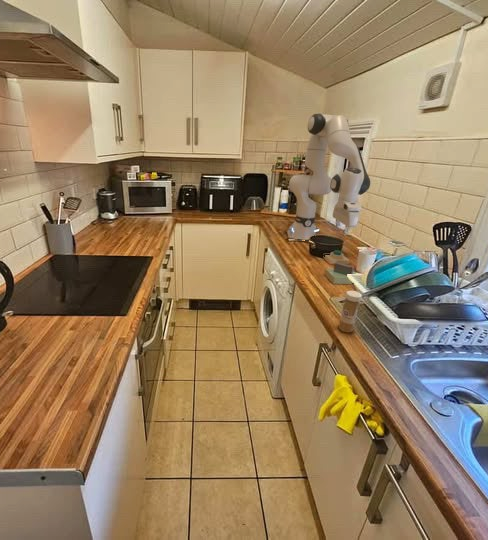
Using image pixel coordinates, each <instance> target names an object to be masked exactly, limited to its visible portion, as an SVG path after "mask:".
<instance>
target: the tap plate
mask: <svg viewBox="0 0 488 540" xmlns="http://www.w3.org/2000/svg"><path fill="white" fill-rule="evenodd" d="M353 274H357V272H355V271H353ZM324 276H325V277H326V278H327V279H328V281H330V282H331V283H332V284H333V285H353V284H352V283H351V282H350V281H349V279H348V277H347V275H345V274H341V273H338V272H335V271H334V268H325V271H324Z"/></svg>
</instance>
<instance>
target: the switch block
mask: <svg viewBox="0 0 488 540" xmlns="http://www.w3.org/2000/svg"><path fill="white" fill-rule="evenodd" d="M333 253H334V251H331V252H330V253H329V254H330V255H325V257H324V256H322V258H323V259H324V260H325V261H326V262H327V263H328V264H329V265H335V263H336V262H338V263H342V264H346V265H350V263H351V260H350V259H349V258H348V257H346V256H345V254H344V253H343V252H341V255H335V254H333Z"/></svg>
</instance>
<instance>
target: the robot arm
mask: <svg viewBox="0 0 488 540" xmlns="http://www.w3.org/2000/svg"><path fill="white" fill-rule="evenodd" d="M307 131H308V133H310V137H309V139H308V142H307V146H306V153H305V159H304V165H305V166H306V168H308V169H309V170H311V171H312V172H313V174H312V175H311V174H295V175H292V176H291V178H290V179H289V182H288V187H289V190H290V191H291V192H292V193H293V194H294V196H295V197H296V201H297V211H296V216H295V218H294V221H293V222H291V225H289V226H288V230H287V231H286V235H287V238H289V239H294V240H297V239H309V238H310V237H311V236H314V235H315V236H316V232H319V231H320V229H317V225H316V224H315V223H316V213H317V203H316V202H315V201H314V200H313V199H311V198H310V197H309V195H316V196H325V195H329V194H330V193H331V192H333V193H335V194H339V195H338V197H337V201H336V203H335V205H334V207H333V210H332V218H333V219H335V228H336V229H341V223H342V225H345V227H344V229H343V234H344V235H349V231H350V230H351V228H356V226H357V225H358V222H359V218H360V212H361V211H362V206H361V204H360V202H359V196H362V195H364V194H365V193H366V192H367V191H369V189H370V187H371V178H370V176H369V175H368V172H367V170H366V166H365V163H364V160H363V159H364V158H363V156H362V153H361V150H360V147H359V146H358V145H357V144H356V143H355V142H354V140H353V139H352V137H351V130H350V125H349V120H348V118H347V117H345V115H342V114H338V115H336V114H326V113H314V114H312V115H311V117H310V118H309V119H308V123H307ZM327 147H328V148H327ZM327 149H328V150H329V151H330V153H332V154H333V155H335V156H337V157H341V158H343V159H346V160H348V161H349V162H350V164H351V167H347V168H345V169H344V171H342V172H340V173H336V174H335V175H333V177H330V176H329V175H328V173H327V171H326V167H325V166H326V165H325V164H326V156H327V155H326V154H327Z"/></svg>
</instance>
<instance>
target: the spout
mask: <svg viewBox="0 0 488 540" xmlns="http://www.w3.org/2000/svg"><path fill="white" fill-rule="evenodd" d="M333 269H334V271H335V272H338V273H341V274H345V275H347V274H353V272H355V266H354V265H350V264H342V263H338V262H336V263H335V264H334V267H333Z"/></svg>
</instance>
